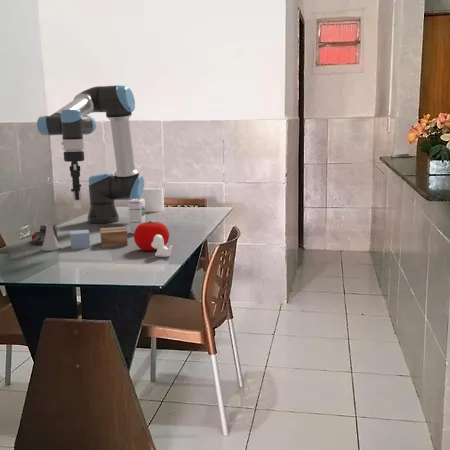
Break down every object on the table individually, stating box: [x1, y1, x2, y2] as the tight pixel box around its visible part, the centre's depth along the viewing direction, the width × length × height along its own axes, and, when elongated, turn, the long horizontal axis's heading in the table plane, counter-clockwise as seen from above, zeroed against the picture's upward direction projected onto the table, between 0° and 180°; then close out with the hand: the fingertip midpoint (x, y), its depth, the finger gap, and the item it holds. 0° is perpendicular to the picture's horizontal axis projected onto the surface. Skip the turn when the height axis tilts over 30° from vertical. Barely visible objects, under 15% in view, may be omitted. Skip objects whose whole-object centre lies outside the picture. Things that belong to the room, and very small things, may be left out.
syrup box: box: [127, 198, 147, 235], centre depth 243 cm, size 6×6×14 cm
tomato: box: [133, 220, 170, 252], centre depth 209 cm, size 12×13×11 cm
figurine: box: [151, 234, 173, 258], centre depth 198 cm, size 5×8×8 cm
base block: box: [99, 226, 129, 248], centre depth 221 cm, size 10×10×6 cm
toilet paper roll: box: [141, 186, 165, 213], centre depth 303 cm, size 12×12×12 cm
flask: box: [41, 223, 62, 252], centre depth 214 cm, size 7×7×10 cm
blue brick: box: [69, 229, 91, 250], centre depth 218 cm, size 7×7×6 cm
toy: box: [30, 223, 59, 246], centre depth 230 cm, size 9×6×15 cm
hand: (77, 206), depth 216 cm, fingers open, 13 cm apart
